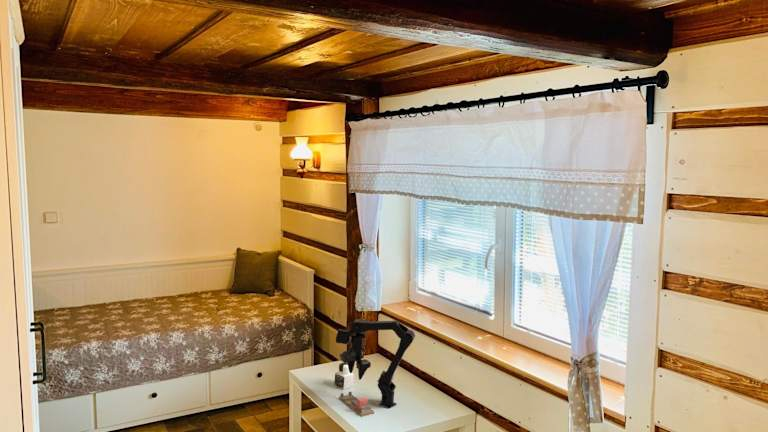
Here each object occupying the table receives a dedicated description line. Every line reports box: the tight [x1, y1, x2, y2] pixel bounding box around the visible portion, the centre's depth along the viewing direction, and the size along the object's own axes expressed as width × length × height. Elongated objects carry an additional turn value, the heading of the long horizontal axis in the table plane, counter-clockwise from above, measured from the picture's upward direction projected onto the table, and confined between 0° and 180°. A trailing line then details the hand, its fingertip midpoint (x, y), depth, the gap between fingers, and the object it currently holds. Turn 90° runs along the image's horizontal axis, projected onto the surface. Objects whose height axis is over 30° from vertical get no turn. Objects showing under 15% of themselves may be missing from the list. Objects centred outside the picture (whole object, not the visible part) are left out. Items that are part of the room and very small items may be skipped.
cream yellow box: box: [334, 362, 355, 391], centre depth 292 cm, size 7×7×12 cm
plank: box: [338, 391, 375, 417], centre depth 269 cm, size 22×7×4 cm, turn 33°
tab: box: [351, 397, 369, 410], centre depth 267 cm, size 10×4×4 cm, turn 33°
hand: (355, 376), depth 275 cm, fingers open, 9 cm apart
